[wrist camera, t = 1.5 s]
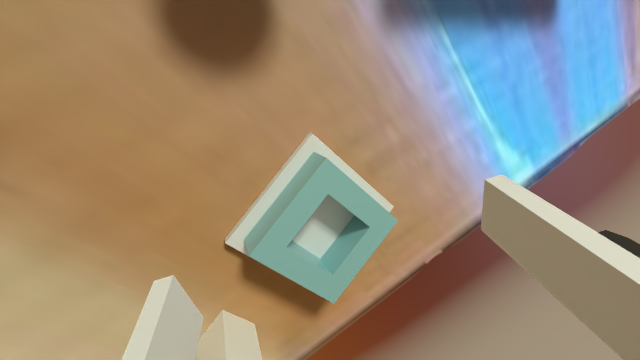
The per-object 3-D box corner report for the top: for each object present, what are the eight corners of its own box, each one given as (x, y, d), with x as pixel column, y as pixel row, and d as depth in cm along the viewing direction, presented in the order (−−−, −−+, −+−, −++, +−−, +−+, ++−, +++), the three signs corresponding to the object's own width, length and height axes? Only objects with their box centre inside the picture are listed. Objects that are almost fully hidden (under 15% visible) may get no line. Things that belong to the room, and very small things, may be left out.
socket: (319, 292, 36) (334, 317, 31) (224, 238, 29) (227, 261, 25) (389, 203, 36) (412, 217, 32) (309, 132, 30) (325, 137, 26)
